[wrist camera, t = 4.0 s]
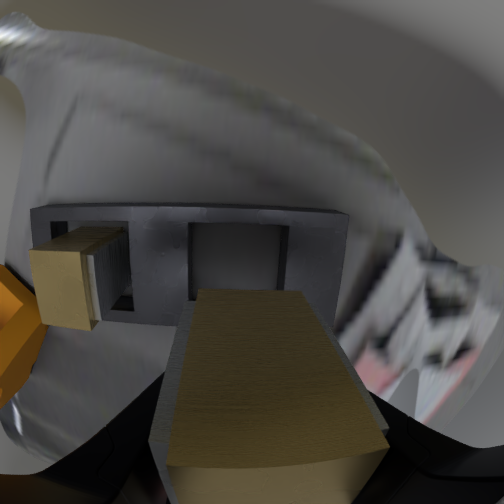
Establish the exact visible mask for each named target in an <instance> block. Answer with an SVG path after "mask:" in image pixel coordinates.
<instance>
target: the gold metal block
mask: <svg viewBox="0 0 504 504" xmlns="http://www.w3.org/2000/svg"><path fill="white" fill-rule="evenodd" d="M388 430H389V426H388V424H387V423H386V421H385V419H384V417H383V416H382V414H381V412H380V411H379V409H378V407H377V406H376V404H375V402H374V400H373V399H372V397H371V395H370V394H369V392H368V390H367V389H366V387H365V385H364V384H363V382H362V380H361V379H360V377H359V375H358V374H357V372H356V370H355V369H354V367H353V365H352V364H351V362H350V360H349V359H348V357H347V355H346V354H345V352H344V351H343V349H342V347H341V346H340V344H339V342H338V341H337V339H336V338H335V336H334V334H333V333H332V331H331V329H330V328H329V326H328V325H327V323H326V321H325V320H324V318H323V317H322V315H321V313H320V312H319V310H318V309H317V307H316V305H315V304H314V303H308V302H307V300H306V298H305V296H304V295H303V293H302V291H281V290H232V289H203V288H199V290H198V294H197V299H196V301H185V303H184V306H183V310H182V313H181V316H180V320H179V323H178V327H177V330H176V334H175V337H174V341H173V345H172V348H171V352H170V356H169V359H168V363H167V367H166V371H165V374H164V378H163V382H162V386H161V390H160V394H159V398H158V402H157V406H156V410H155V414H154V418H153V423H152V427H151V431H150V436H149V440H148V442H149V445H150V448H151V452H152V455H153V458H154V461H155V463H156V466H157V469H158V472H159V475H160V477H161V480H162V483H163V485H164V488H165V491H166V493H167V496H168V498H169V500H170V503H171V504H351V502H352V501H353V500H354V499H355V497H356V496H357V495H358V493H359V492H360V491H361V489H362V488H363V487H364V485H365V484H366V483H367V481H368V480H369V478H370V477H371V476H372V474H373V473H374V471H375V470H376V468H377V467H378V465H379V464H380V462H381V461H382V459H383V458H384V456H385V455H386V453H387V451H388V450H389V448H390V446H389V444H388V442H387V441H386V439H385V436H386V434H387V432H388Z"/></svg>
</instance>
